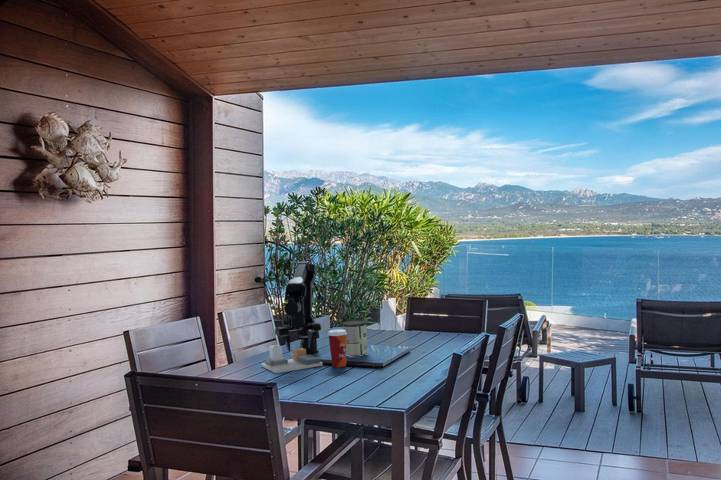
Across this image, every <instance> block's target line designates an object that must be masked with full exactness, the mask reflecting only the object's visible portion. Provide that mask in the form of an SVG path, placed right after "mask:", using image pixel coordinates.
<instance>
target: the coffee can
mask: <svg viewBox="0 0 721 480" xmlns="http://www.w3.org/2000/svg"><path fill="white" fill-rule="evenodd" d="M367 323H368V322H367V321H366V320H360V319H359V320H356V319H355V320H346V321H343V322H342V324H341V325H342V330H346V333H347V334H346V355H350V356H361V355H366V354H368V355H369V347H368V346H369V345H368V331H367Z"/></svg>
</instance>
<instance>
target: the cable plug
mask: <svg viewBox="0 0 721 480" xmlns="http://www.w3.org/2000/svg"><path fill="white" fill-rule="evenodd" d="M292 350H293V352H291V353H290V355H291V356H292V357H293V359H296V360H297V358H296V357H298V356H304V355H307V354H306V349H304V348H300V347H299V348H294V349H292Z"/></svg>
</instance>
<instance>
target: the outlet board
mask: <svg viewBox="0 0 721 480" xmlns="http://www.w3.org/2000/svg"><path fill="white" fill-rule="evenodd" d="M323 363H324V362H323V361H320V363H317V364H311V365H305V364H302V363H300V362H297V360H296V359H294V358H289V359H287V358H285V357H283V360H281V361H274V362H272V361H270V358H267V359H264V363H261V367H262V368H264V369H266V370H268V371H270V372H272V373H274V374H281V373H286V372H291V371H298V370H304V369H310V368H311V369H312V368H315V367H321V366H323Z"/></svg>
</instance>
